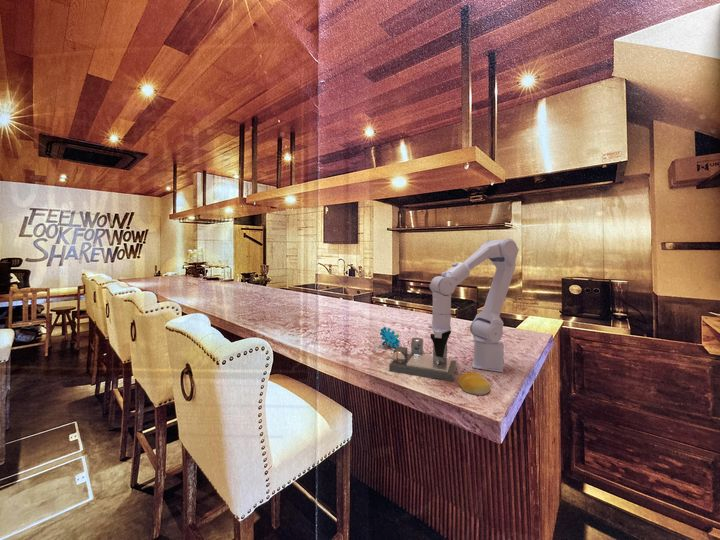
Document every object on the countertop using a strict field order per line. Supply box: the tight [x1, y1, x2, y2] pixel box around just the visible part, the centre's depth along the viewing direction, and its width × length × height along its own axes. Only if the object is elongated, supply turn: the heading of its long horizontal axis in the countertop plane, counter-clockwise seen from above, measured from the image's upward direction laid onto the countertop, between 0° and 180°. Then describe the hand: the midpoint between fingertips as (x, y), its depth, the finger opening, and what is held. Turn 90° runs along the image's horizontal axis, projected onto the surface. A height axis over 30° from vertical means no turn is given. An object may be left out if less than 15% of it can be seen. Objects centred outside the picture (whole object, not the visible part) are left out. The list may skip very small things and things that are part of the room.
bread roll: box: [458, 371, 491, 396], centre depth 83 cm, size 8×9×4 cm
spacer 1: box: [410, 337, 424, 355], centre depth 111 cm, size 4×4×6 cm
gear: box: [379, 326, 401, 349], centre depth 123 cm, size 11×6×10 cm
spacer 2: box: [432, 343, 448, 365], centre depth 95 cm, size 4×4×6 cm
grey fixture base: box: [388, 345, 458, 382], centre depth 97 cm, size 20×13×6 cm, turn 67°
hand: (440, 354), depth 95 cm, fingers closed on spacer 2, 4 cm apart
